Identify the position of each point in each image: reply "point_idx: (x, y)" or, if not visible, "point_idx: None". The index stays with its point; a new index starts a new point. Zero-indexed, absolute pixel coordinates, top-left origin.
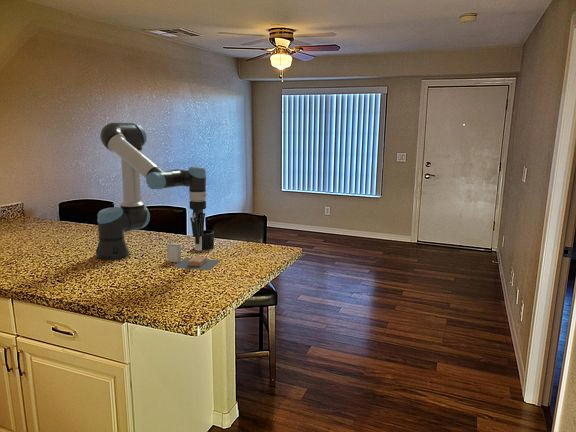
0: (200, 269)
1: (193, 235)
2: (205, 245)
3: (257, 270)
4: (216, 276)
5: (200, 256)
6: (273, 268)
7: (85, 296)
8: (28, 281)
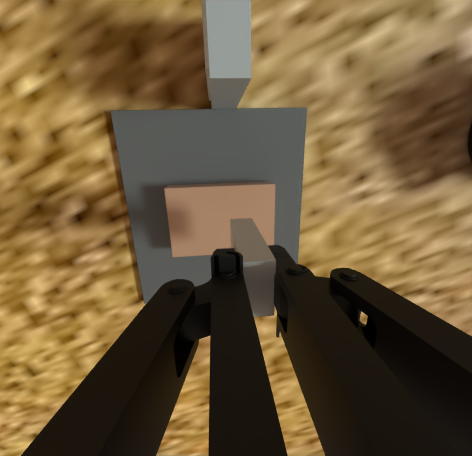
0: (138, 264)
1: (161, 296)
2: None
3: None
4: (101, 342)
5: (271, 215)
6: None
7: None
8: None
